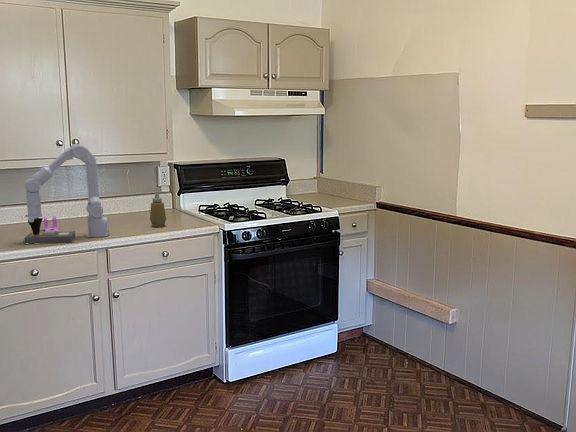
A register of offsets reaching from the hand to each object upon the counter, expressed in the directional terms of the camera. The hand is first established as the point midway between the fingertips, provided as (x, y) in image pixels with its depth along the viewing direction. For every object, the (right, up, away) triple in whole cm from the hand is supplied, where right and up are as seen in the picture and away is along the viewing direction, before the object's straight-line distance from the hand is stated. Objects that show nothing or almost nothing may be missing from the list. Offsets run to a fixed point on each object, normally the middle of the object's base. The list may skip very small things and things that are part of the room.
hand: (36, 234), depth 270 cm
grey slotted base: (+6, -3, +1) cm, 7 cm away
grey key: (+6, -1, +1) cm, 6 cm away
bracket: (-1, 0, +21) cm, 21 cm away
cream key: (+12, -2, +2) cm, 12 cm away
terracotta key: (0, -3, +1) cm, 3 cm away
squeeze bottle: (+48, +3, +33) cm, 59 cm away
